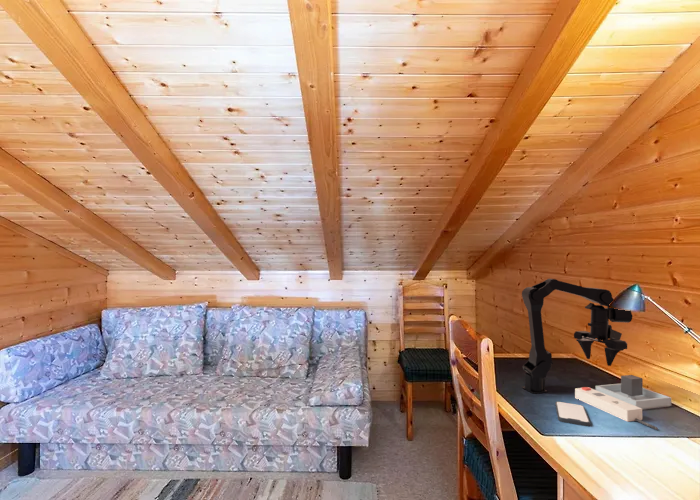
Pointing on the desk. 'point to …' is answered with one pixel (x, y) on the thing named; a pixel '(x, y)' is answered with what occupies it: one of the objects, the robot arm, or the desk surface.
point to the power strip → (611, 405)
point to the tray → (637, 397)
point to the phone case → (572, 414)
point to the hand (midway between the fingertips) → (598, 362)
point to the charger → (632, 386)
